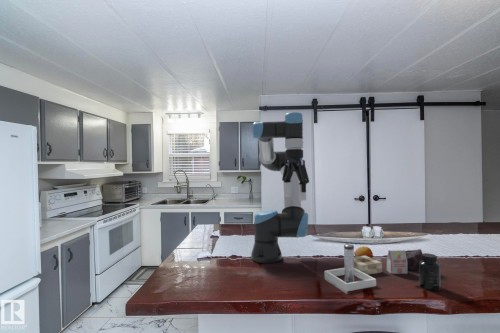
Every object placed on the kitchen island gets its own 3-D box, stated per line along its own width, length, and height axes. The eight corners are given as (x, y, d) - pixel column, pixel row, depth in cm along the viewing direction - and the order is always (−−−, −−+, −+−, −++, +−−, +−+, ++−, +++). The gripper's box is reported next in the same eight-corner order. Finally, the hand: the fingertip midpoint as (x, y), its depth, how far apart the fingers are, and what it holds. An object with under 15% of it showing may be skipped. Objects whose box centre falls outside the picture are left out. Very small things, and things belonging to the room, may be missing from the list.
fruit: (378, 261, 132) (368, 246, 133) (363, 269, 133) (353, 254, 134) (374, 256, 140) (365, 241, 140) (360, 263, 141) (351, 249, 142)
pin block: (346, 269, 127) (346, 258, 127) (365, 266, 130) (365, 255, 130) (362, 277, 117) (362, 265, 117) (382, 274, 120) (381, 262, 120)
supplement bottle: (414, 284, 111) (414, 252, 111) (431, 283, 111) (431, 251, 111) (427, 291, 104) (426, 258, 104) (445, 290, 104) (444, 257, 104)
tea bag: (386, 272, 122) (386, 249, 122) (402, 272, 122) (402, 249, 122) (391, 276, 119) (390, 251, 118) (407, 276, 119) (407, 251, 118)
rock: (395, 268, 130) (405, 276, 120) (391, 249, 131) (401, 256, 121) (421, 264, 130) (434, 272, 120) (417, 245, 130) (430, 251, 120)
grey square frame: (324, 279, 116) (324, 270, 116) (351, 275, 120) (351, 266, 120) (346, 294, 103) (346, 284, 103) (376, 288, 107) (376, 279, 107)
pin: (342, 280, 113) (342, 244, 113) (350, 279, 114) (349, 243, 114) (348, 284, 109) (347, 247, 109) (356, 282, 111) (355, 246, 111)
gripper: (317, 147, 113) (318, 201, 114) (289, 150, 137) (289, 195, 137) (300, 147, 111) (301, 202, 111) (274, 150, 135) (275, 196, 135)
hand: (295, 198), depth 124 cm, fingers open, 13 cm apart
